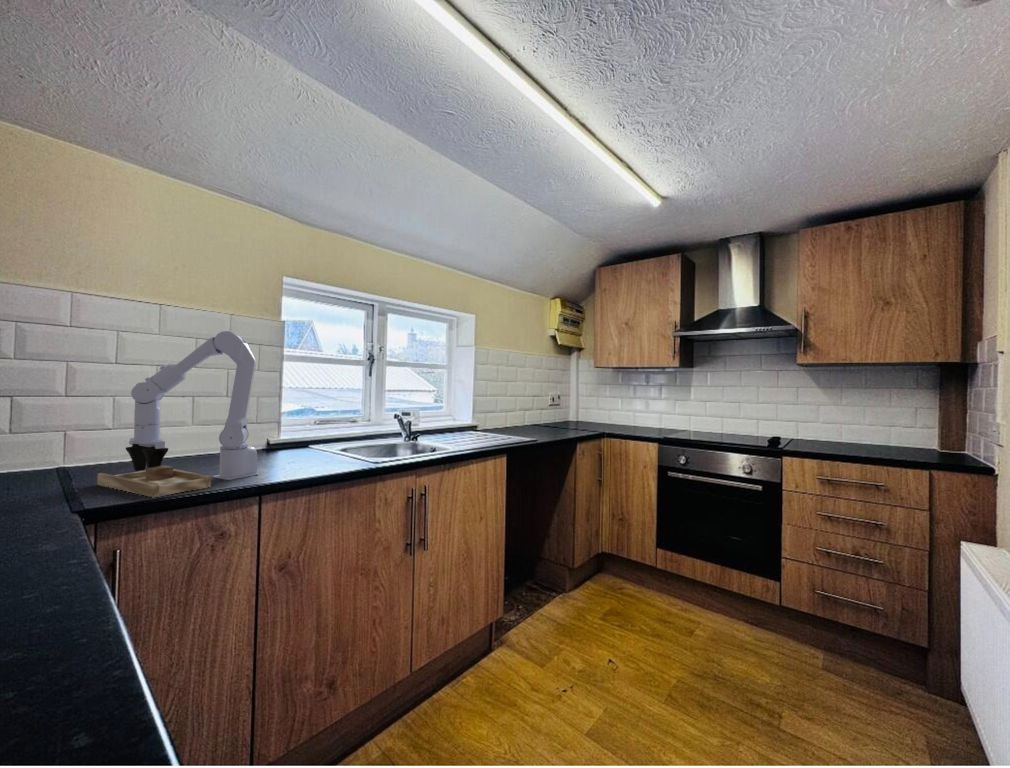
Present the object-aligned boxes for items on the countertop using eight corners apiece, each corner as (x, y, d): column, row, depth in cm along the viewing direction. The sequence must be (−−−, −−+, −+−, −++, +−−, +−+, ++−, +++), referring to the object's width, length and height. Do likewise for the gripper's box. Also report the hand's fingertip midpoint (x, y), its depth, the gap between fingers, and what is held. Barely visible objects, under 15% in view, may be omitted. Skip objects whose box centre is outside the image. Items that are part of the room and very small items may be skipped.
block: (164, 475, 122) (164, 465, 122) (172, 477, 120) (173, 466, 120) (145, 478, 118) (145, 467, 118) (154, 480, 116) (154, 469, 116)
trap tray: (154, 475, 129) (154, 465, 129) (210, 487, 117) (211, 475, 117) (97, 484, 117) (97, 473, 117) (153, 498, 105) (153, 485, 105)
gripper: (117, 424, 122) (116, 471, 122) (144, 427, 116) (143, 477, 116) (146, 422, 128) (145, 467, 128) (173, 425, 122) (172, 472, 122)
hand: (146, 471), depth 123 cm, fingers open, 7 cm apart
